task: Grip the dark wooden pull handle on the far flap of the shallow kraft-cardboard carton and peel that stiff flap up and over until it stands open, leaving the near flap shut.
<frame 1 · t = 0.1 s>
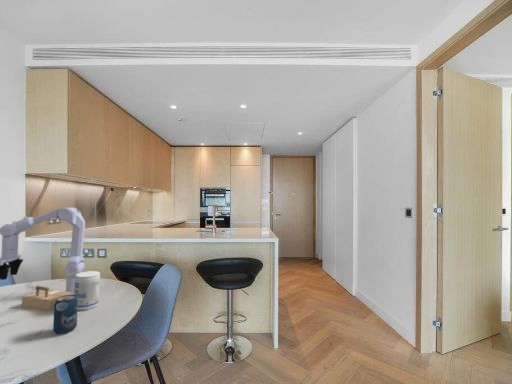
hand: (8, 277, 124), 10 cm above the table, tool pointing down, fingers open, 7 cm apart
supplement tub: (86, 307, 114), on the table
far flap: (42, 292, 114), point 6 cm above the table, hinge at 0.0°
soda can: (65, 331, 93), on the table
carton: (47, 304, 117), on the table
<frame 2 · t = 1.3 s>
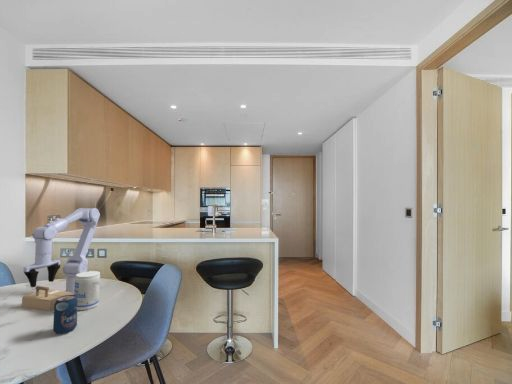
hand: (42, 284, 114), 10 cm above the table, tool pointing down, fingers open, 7 cm apart
nothing on the table moved.
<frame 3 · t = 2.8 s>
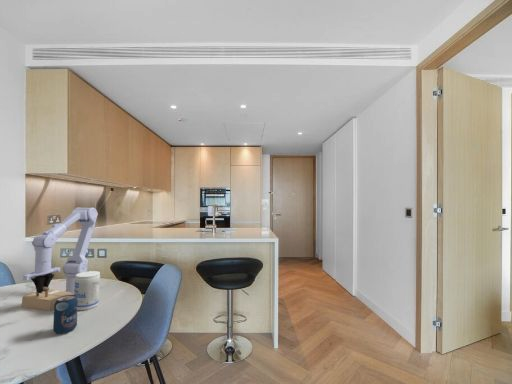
hand: (42, 291, 114), 6 cm above the table, tool pointing down, fingers closed on far flap
far flap: (42, 292, 114), point 6 cm above the table, hinge at 0.0°, touching gripper
everything else where it was.
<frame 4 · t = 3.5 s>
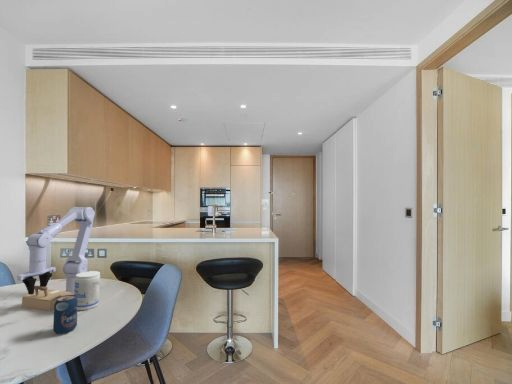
hand: (37, 292, 112), 7 cm above the table, tool pointing down, fingers open, 4 cm apart
far flap: (41, 291, 114), point 7 cm above the table, hinge at 9.6°, touching gripper
everything else where it was.
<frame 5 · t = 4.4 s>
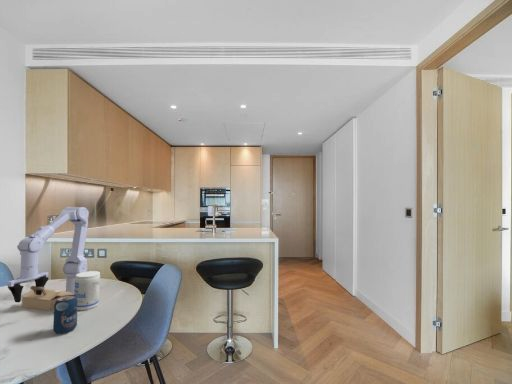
hand: (28, 298, 109), 6 cm above the table, tool pointing down, fingers open, 7 cm apart
far flap: (39, 291, 113), point 7 cm above the table, hinge at 26.5°, touching gripper
everything else where it was.
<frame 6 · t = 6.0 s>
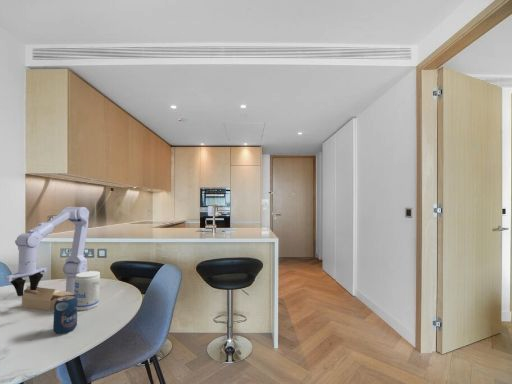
hand: (26, 293, 108), 8 cm above the table, tool pointing down, fingers open, 4 cm apart
far flap: (34, 292, 111), point 7 cm above the table, hinge at 60.8°, touching gripper
everything else where it was.
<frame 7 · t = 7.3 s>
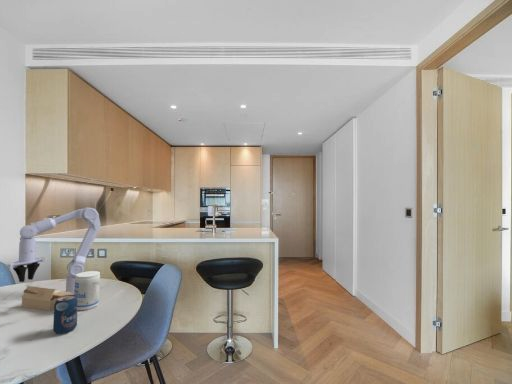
hand: (26, 280, 119), 10 cm above the table, tool pointing down, fingers open, 3 cm apart
far flap: (34, 292, 111), point 7 cm above the table, hinge at 61.3°
everything else where it was.
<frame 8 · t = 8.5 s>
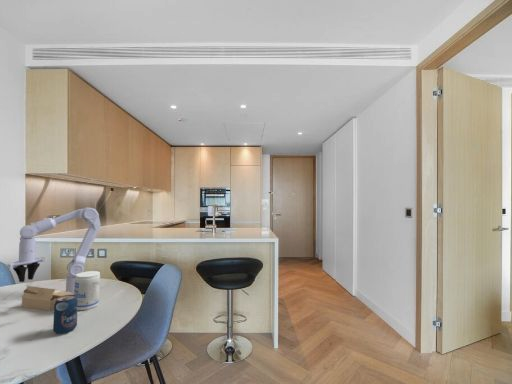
hand: (26, 280, 119), 10 cm above the table, tool pointing down, fingers open, 3 cm apart
nothing on the table moved.
at the end: far flap at +61° (first picture: +0°) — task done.
